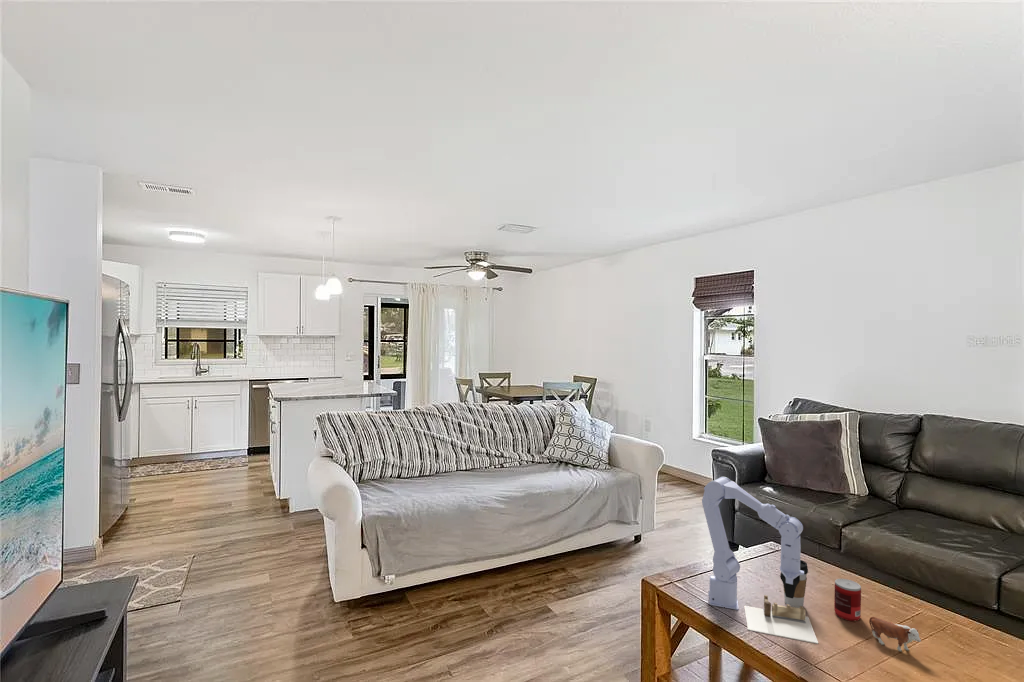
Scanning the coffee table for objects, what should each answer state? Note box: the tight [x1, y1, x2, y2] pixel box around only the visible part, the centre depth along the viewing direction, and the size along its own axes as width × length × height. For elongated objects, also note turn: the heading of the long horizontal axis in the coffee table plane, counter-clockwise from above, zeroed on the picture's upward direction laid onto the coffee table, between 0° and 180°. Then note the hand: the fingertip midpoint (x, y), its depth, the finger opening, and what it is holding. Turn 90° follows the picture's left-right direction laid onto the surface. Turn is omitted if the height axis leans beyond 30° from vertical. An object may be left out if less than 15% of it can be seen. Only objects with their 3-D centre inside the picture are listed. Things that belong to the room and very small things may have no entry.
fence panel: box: [771, 602, 806, 620], centre depth 173 cm, size 10×1×4 cm, turn 75°
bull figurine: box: [868, 616, 922, 652], centre depth 158 cm, size 4×13×8 cm, turn 36°
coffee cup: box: [782, 559, 809, 608], centre depth 184 cm, size 8×8×15 cm
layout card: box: [743, 605, 819, 645], centre depth 170 cm, size 20×16×1 cm
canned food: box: [833, 578, 862, 622], centre depth 176 cm, size 8×8×11 cm
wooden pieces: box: [763, 594, 772, 617], centre depth 177 cm, size 2×6×5 cm, turn 159°
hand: (789, 596), depth 169 cm, fingers closed
